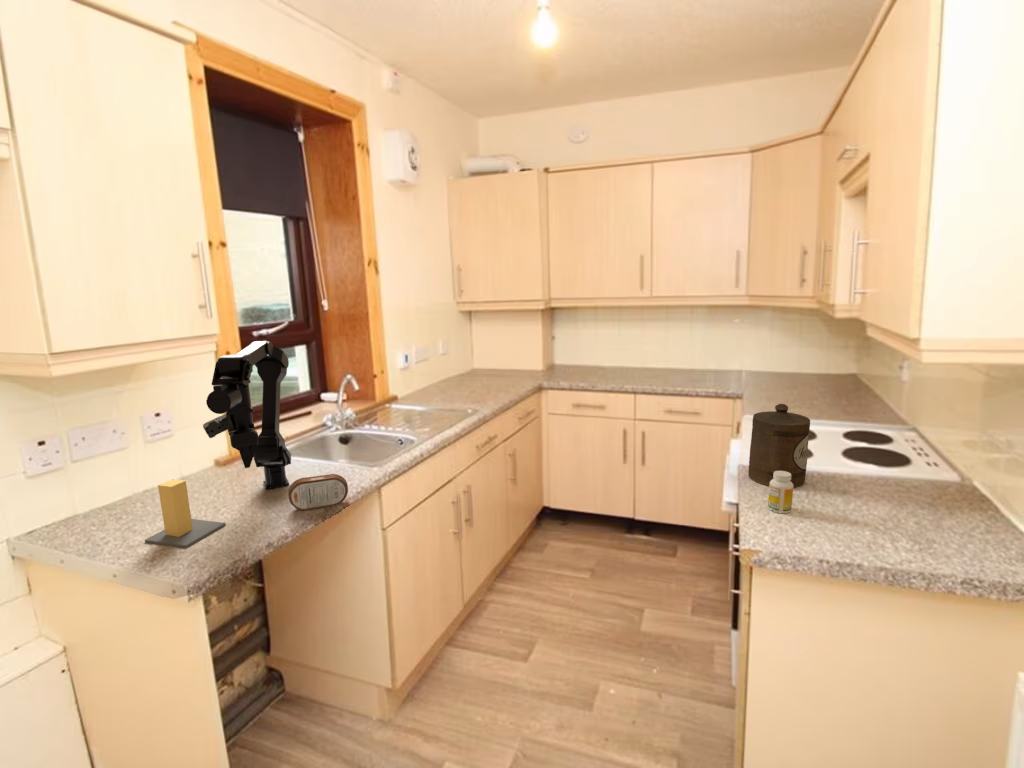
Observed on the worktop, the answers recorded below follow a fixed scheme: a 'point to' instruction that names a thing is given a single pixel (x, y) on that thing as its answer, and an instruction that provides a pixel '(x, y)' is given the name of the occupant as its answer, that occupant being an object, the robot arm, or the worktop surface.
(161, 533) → the charcoal mat
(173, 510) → the ochre post
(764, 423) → the wooden container
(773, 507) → the supplement bottle
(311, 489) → the tin
